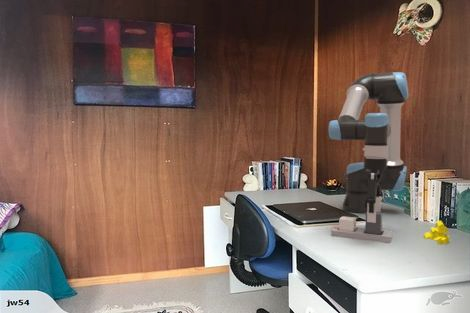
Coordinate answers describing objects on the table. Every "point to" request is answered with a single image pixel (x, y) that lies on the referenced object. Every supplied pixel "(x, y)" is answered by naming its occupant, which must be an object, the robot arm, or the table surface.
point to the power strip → (363, 235)
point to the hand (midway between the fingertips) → (373, 218)
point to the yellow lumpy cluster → (438, 233)
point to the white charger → (347, 224)
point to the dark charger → (374, 225)
